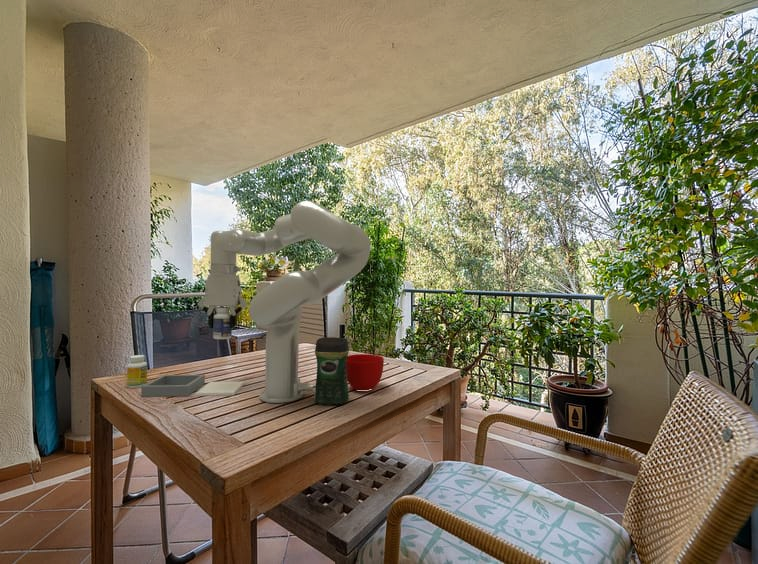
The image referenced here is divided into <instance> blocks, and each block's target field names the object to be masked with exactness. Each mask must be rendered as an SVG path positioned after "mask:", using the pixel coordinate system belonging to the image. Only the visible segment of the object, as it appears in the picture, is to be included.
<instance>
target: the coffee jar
mask: <svg viewBox="0 0 758 564" xmlns="http://www.w3.org/2000/svg"><path fill="white" fill-rule="evenodd" d="M314 349H315V350H314V355H315V357H316V379H315V387H314V402H315V403H316V404H317V403H318V405H323V404H341V405H344V404H346V403H347V402H348V400H349V386H348V384H349V383H348V381H347V371H346V360H347V356H349V354H350V353H349V352H350V349H349V341H348V339H347V338H346V337H334V336H332V337H331V336H330V337H320V338H318V339H317V340H316V342H315V347H314ZM345 402H346V403H345ZM343 403H344V404H343Z"/></svg>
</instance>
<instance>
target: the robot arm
mask: <svg viewBox="0 0 758 564" xmlns="http://www.w3.org/2000/svg"><path fill="white" fill-rule="evenodd" d="M310 239H312V240H314V241H315V242H317V243H318V244H320V245H322V246H324V247H325V248H327V249H329V250H331V251H332V252H335V253H336V254H335V255H332V256H331V257H328V258H327V259H325V260H324V261H322V262H321V263H320V264H318V265H317V266H316V267H314V268H312V269H310V270H305V271H304V270H294V271H290V272H288V273H285V274H283V275H282V276H280V277H279V278H277V279H276V280H275V281H273V282H272V283H270V284H269V285H267V286H266V287H264V288H262V289H261V290H260V291H259V292H258V293H256V294H255V295H254V296H253V297H252V298H251V300H250V303H249V306H248V302H247V301H246V300H245V299H244V298H243V297H242V285H241V281H240V280H241V279H240V275H238V272H242V268H241V266H238V265H237V255H245V256H246V255H247V256H252V257H253V256H255V257H260V256H263V255H268V254H271V253H275V252H279V251H281V250H283V249H284V248H286V247H288V246H289V245H291V244H295V243H299V242H302V241H306V240H310ZM370 254H371V241H370V238H369V235H368V234H367V232H366V231H365V230H364V229H363V228H361V227H359V226H357V225H356V224H353V223H351V222H350V221H349V222H348V221H346V220H345V219H342V218H340V217H339V216H337V215H335V214H333V213H331V211H330V210H329V208H327V207H325V206H323V205H321V204H319V203H317V202H315V201H313V200H302V201H299V202H298V203H296V204H295V205H294V206H293V207H292V209H291V212H290V213H288V214H285V215H282V216H278V217H277V218H276V220H275V222H274V228H272V229H268V230H265V231H262V232H257V231H256V232H255V231H251V230H245V229H242V228H236V229H235V228H234V229H231V230H215V231H212V233H211V235H210V264H209V265H210V266H209V269H210V274H208V275H207V277H206V283H205V290H204V296H203V297H202V298H201V299H200V301H198V302H197V306H198V307H199V308H200V309H202V310H203V312H204V313H206V315H207V317H208V320H207V321H208V322H207V325H208V326H209V329H213V318H214V315H215V311H216V308H217V307H230V314H231V316H230V328H232V329H235V328H236V326H237V324H238V321H237V320H238V318H237V317H238V315H239V313H241V312H242V311H243V310H244V309H245V308H246V307H247V306H248V314H249V317H250V319H251V321H252V322H253V323H255V324H256V325H259V326H262V327H267V332H266V336H265V369H264V372H265V377H264V378H265V379H264V380H265V381H264V389H263V391H261V392H260V393H259V397H258V398H259V399H260V400H261V401H263V402H265V403H269V404H272V403H273V404H282V403H284V402H285V403H290V402H291V403H292V402H294V401H297V400H299V399H301V398H302V397H303V396H304V392H313V389H314V385H313V384H310V383H309V382H307V383H302V382H301V378H299V347H300V345H299V344H300V327H301V320H302V317H303V316H302V315H303V306H308V305H309V306H310V305H314V304H316V303H318V302H320V301H321V300H323V299H324V298H325V297H326V296H328V295H329V294H331V293H333V292H334V291H336V290H338V288H339V287H341V286H342V285H344V284H345V283H346V282H349V281H350V280H352V279H353V278H354V277H355V276H357V275H358V274H359V273H360V272H361V271H362V270H363V269H364V268H365V266H366V265H367V262H368V261H369V258H370ZM237 306H238V307H237Z"/></svg>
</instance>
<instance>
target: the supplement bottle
mask: <svg viewBox="0 0 758 564" xmlns="http://www.w3.org/2000/svg"><path fill="white" fill-rule="evenodd" d="M145 357H146V356H145V354H136V355H131V356H129V362H128V364H127V366H126V387H127V388H129V389H137V388H138V389H139V388H141V387H142V386H144V385H146V384H148V382H147V380H148V379H147V378H148V377H147V375H148V363H147V362H146V361H145V359H146V358H145Z"/></svg>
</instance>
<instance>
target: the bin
mask: <svg viewBox="0 0 758 564" xmlns="http://www.w3.org/2000/svg"><path fill="white" fill-rule="evenodd" d="M205 385H206V375H205V374H162V375H161V376H159V377H158V378H155V379H154V380H152V381H149V382H147V384H146V385H144V386H142V387H140V388H141V389H140V390H141V394H140V395H141V396H140V397H141V398H147V397H146V396H157V398H158V397H159V396H160V397H161V396H175V397H189V396H190V395H191V394H193V393H195V392H197V390H198V389H201V388H202V386H205ZM161 398H162V397H161Z"/></svg>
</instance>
